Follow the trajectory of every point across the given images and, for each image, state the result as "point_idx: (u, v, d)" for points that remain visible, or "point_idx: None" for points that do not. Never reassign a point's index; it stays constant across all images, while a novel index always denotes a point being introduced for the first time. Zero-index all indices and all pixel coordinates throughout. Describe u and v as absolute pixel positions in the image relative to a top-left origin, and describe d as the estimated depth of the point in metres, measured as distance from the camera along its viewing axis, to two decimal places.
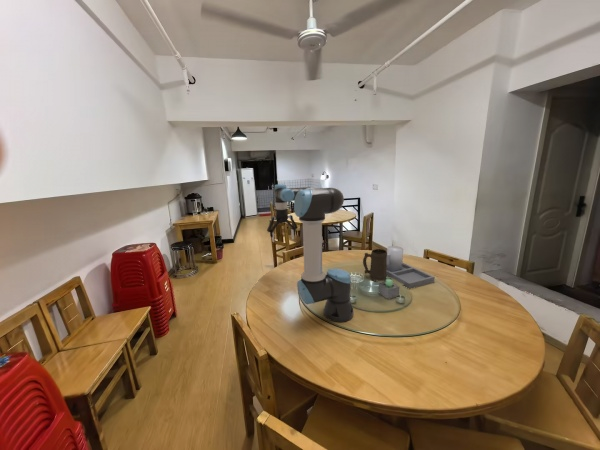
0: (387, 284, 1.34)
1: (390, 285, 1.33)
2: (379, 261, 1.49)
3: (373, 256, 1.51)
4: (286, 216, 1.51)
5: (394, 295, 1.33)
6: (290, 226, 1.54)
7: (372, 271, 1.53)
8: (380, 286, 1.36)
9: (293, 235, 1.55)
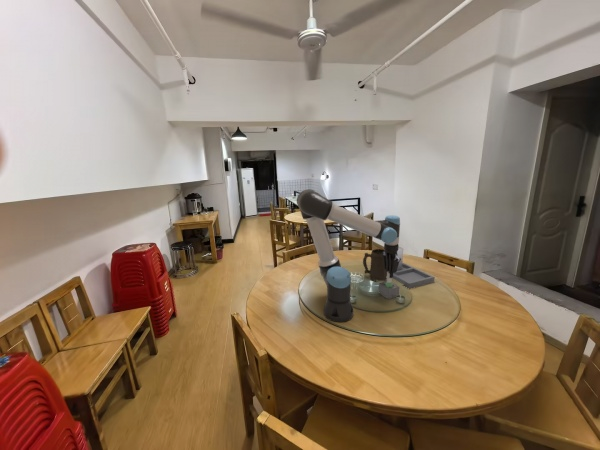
0: (387, 286, 1.34)
1: None
2: (379, 261, 1.49)
3: (373, 256, 1.51)
4: (393, 254, 1.27)
5: (394, 295, 1.33)
6: None
7: (372, 271, 1.53)
8: (380, 286, 1.36)
9: (388, 278, 1.33)
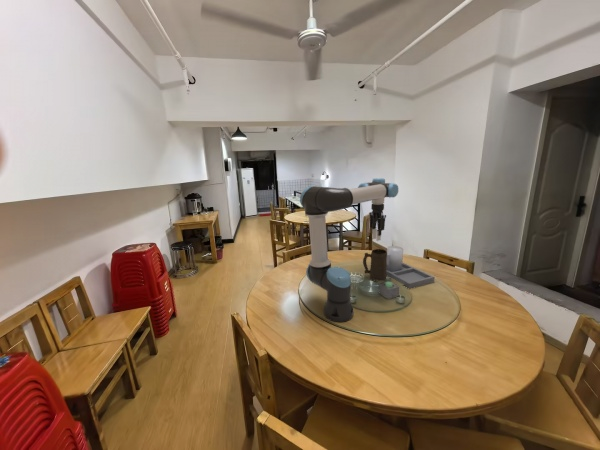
0: None
1: None
2: (379, 261, 1.49)
3: (373, 256, 1.51)
4: (379, 212, 1.43)
5: (394, 295, 1.33)
6: None
7: (372, 271, 1.53)
8: (380, 286, 1.36)
9: (377, 236, 1.48)
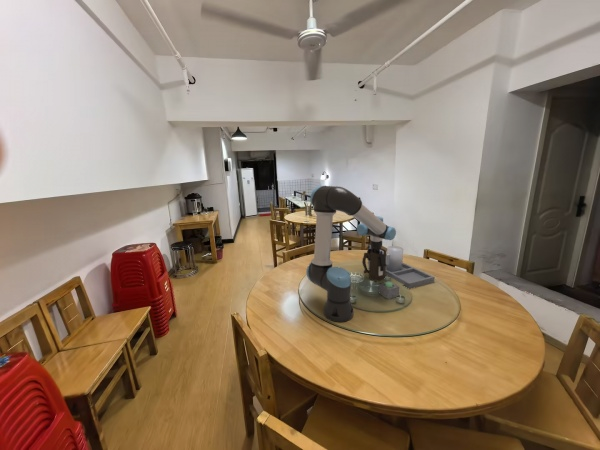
0: None
1: None
2: None
3: (373, 256, 1.51)
4: (377, 249, 1.49)
5: (394, 295, 1.33)
6: None
7: (372, 271, 1.54)
8: (380, 286, 1.36)
9: (379, 271, 1.50)
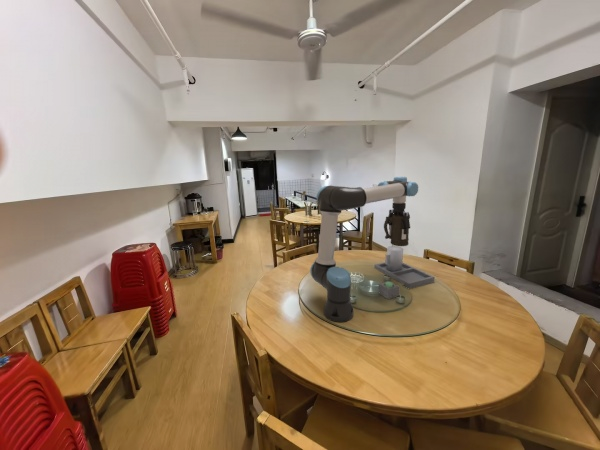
0: None
1: None
2: None
3: (396, 219, 1.44)
4: (400, 211, 1.42)
5: (394, 295, 1.33)
6: None
7: (394, 235, 1.47)
8: (380, 286, 1.36)
9: (402, 235, 1.42)
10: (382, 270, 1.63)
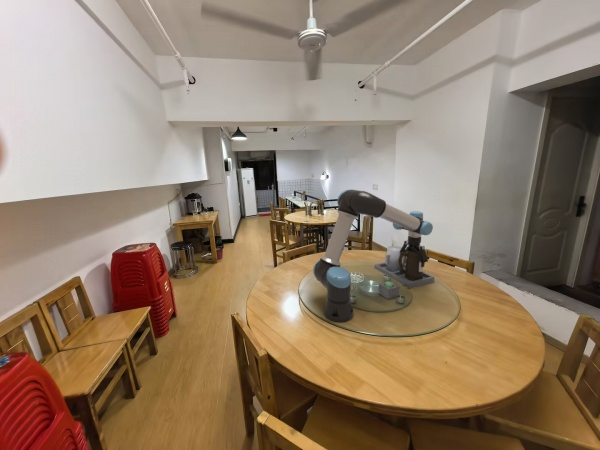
0: None
1: None
2: (417, 260, 1.46)
3: (410, 255, 1.48)
4: (416, 245, 1.45)
5: (394, 295, 1.33)
6: None
7: (409, 270, 1.50)
8: (380, 286, 1.36)
9: (419, 267, 1.44)
10: (382, 270, 1.63)
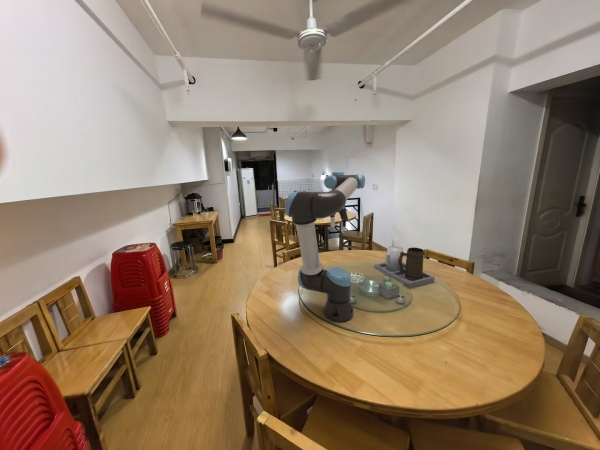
0: None
1: None
2: (417, 260, 1.46)
3: (410, 255, 1.48)
4: None
5: (394, 295, 1.33)
6: None
7: (409, 270, 1.50)
8: (380, 286, 1.36)
9: (341, 227, 1.44)
10: (382, 270, 1.63)
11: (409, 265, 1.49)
